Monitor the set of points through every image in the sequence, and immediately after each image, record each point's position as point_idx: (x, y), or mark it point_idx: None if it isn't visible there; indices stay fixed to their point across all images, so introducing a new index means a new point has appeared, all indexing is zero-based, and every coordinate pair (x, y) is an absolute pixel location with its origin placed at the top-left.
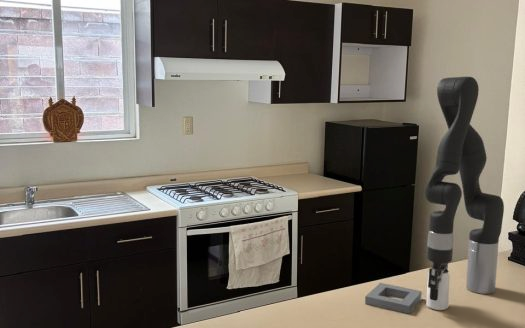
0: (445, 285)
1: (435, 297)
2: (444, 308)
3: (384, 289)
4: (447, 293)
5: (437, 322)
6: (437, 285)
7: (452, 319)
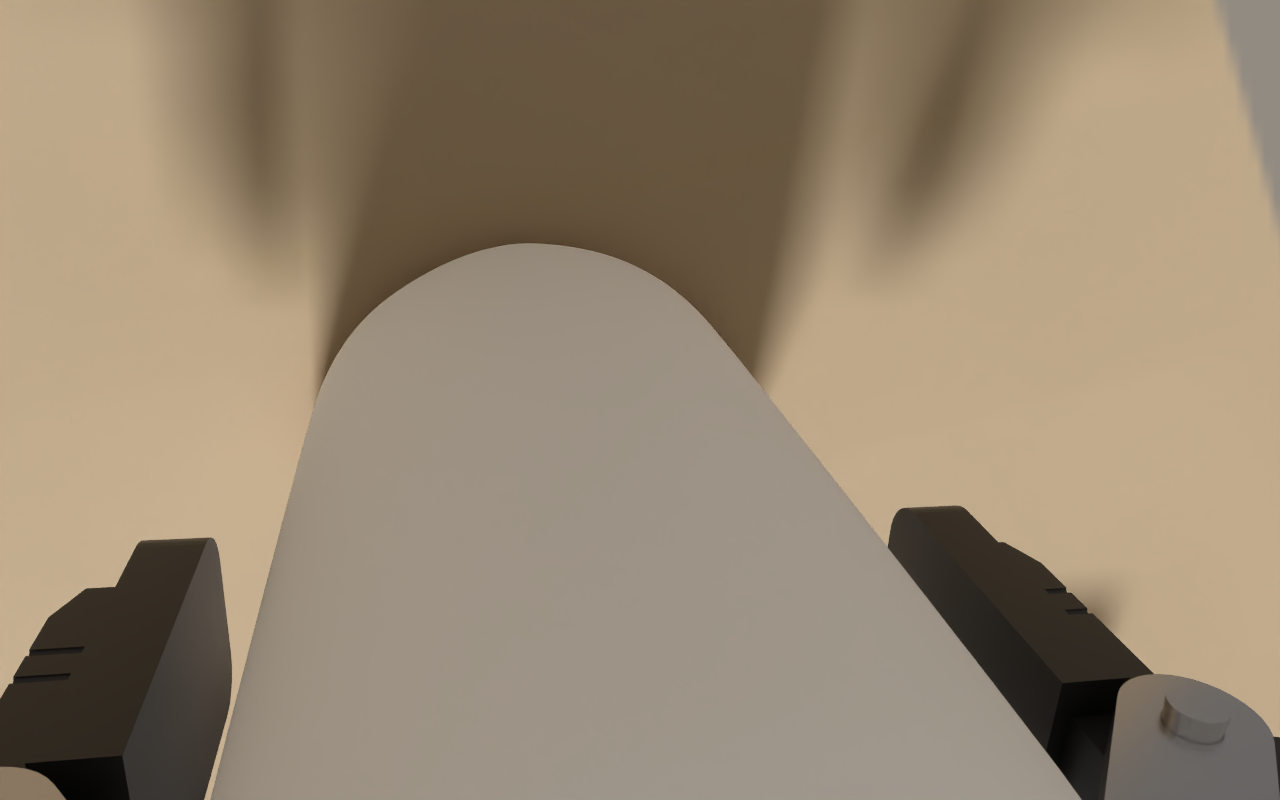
0: (899, 579)
1: (1033, 567)
2: (666, 287)
3: None
4: (684, 380)
5: (1243, 255)
6: (1275, 782)
7: (1028, 29)
